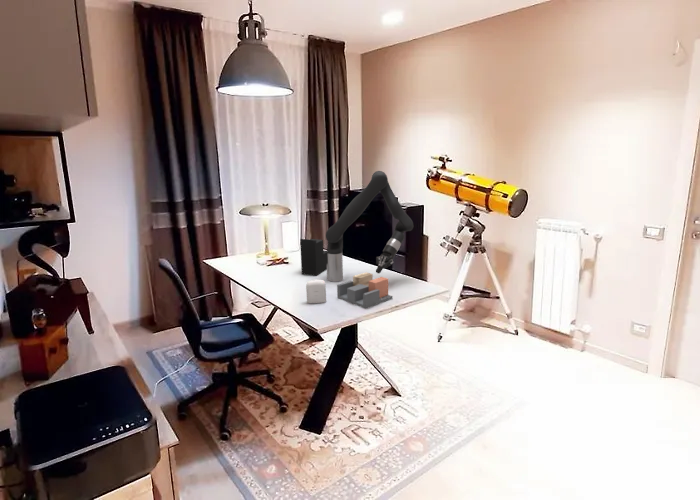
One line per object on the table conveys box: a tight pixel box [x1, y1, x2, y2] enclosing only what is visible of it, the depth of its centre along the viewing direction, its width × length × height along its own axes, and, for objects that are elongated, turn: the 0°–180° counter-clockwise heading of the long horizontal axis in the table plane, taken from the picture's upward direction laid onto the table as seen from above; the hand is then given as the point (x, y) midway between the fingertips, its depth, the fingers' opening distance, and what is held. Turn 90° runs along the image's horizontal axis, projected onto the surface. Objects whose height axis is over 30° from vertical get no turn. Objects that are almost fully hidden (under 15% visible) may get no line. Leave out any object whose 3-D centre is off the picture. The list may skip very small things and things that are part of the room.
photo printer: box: [305, 279, 327, 304], centre depth 225 cm, size 10×4×12 cm, turn 96°
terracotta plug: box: [369, 276, 389, 298], centre depth 227 cm, size 5×10×9 cm, turn 133°
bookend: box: [299, 238, 328, 277], centre depth 279 cm, size 23×11×24 cm, turn 158°
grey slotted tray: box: [336, 280, 393, 310], centre depth 229 cm, size 22×20×8 cm
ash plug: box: [352, 271, 373, 286], centre depth 236 cm, size 5×10×9 cm, turn 133°
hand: (377, 272), depth 243 cm, fingers closed
